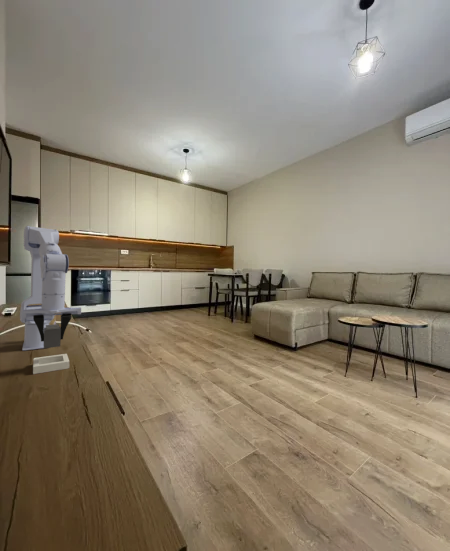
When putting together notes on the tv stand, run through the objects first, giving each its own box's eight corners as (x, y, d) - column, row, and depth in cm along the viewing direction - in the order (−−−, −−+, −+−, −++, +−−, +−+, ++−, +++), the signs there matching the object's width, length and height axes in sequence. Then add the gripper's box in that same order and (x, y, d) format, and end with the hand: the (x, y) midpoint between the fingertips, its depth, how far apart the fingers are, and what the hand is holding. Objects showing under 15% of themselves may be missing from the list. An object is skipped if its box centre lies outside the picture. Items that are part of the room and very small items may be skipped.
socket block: (33, 364, 76) (33, 358, 76) (66, 359, 81) (66, 353, 81) (33, 374, 69) (33, 366, 69) (69, 368, 74) (69, 361, 74)
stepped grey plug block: (43, 344, 76) (44, 325, 76) (59, 343, 78) (60, 323, 78) (43, 348, 72) (44, 327, 72) (60, 346, 75) (61, 326, 75)
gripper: (21, 295, 67) (20, 346, 68) (83, 294, 76) (81, 339, 76) (22, 293, 73) (21, 340, 73) (80, 293, 82) (78, 334, 82)
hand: (52, 339), depth 75 cm, fingers closed on stepped grey plug block, 4 cm apart
